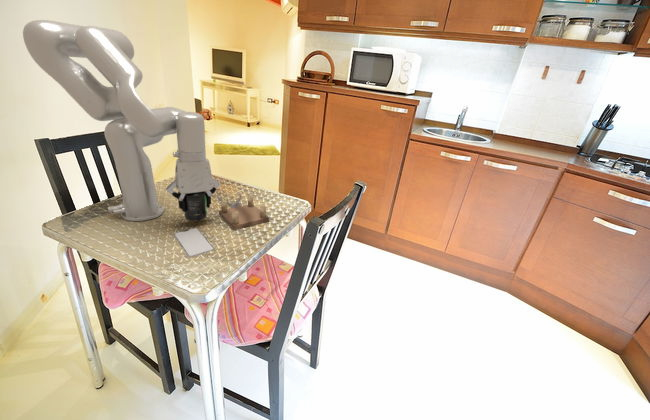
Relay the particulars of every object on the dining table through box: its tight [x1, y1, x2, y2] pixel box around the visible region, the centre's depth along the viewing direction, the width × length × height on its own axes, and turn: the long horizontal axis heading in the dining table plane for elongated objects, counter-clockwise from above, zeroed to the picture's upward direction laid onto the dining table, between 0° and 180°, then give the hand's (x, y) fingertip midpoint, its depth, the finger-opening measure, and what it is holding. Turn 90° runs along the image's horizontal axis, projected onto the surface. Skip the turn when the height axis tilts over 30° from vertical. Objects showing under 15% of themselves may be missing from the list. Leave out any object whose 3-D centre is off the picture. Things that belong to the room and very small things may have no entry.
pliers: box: [216, 192, 242, 208], centre depth 115 cm, size 10×1×20 cm
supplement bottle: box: [183, 191, 208, 222], centre depth 95 cm, size 7×7×12 cm
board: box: [218, 194, 270, 231], centre depth 103 cm, size 13×13×6 cm
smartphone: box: [173, 227, 215, 258], centre depth 88 cm, size 7×1×15 cm
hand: (195, 207), depth 96 cm, fingers closed on supplement bottle, 6 cm apart
